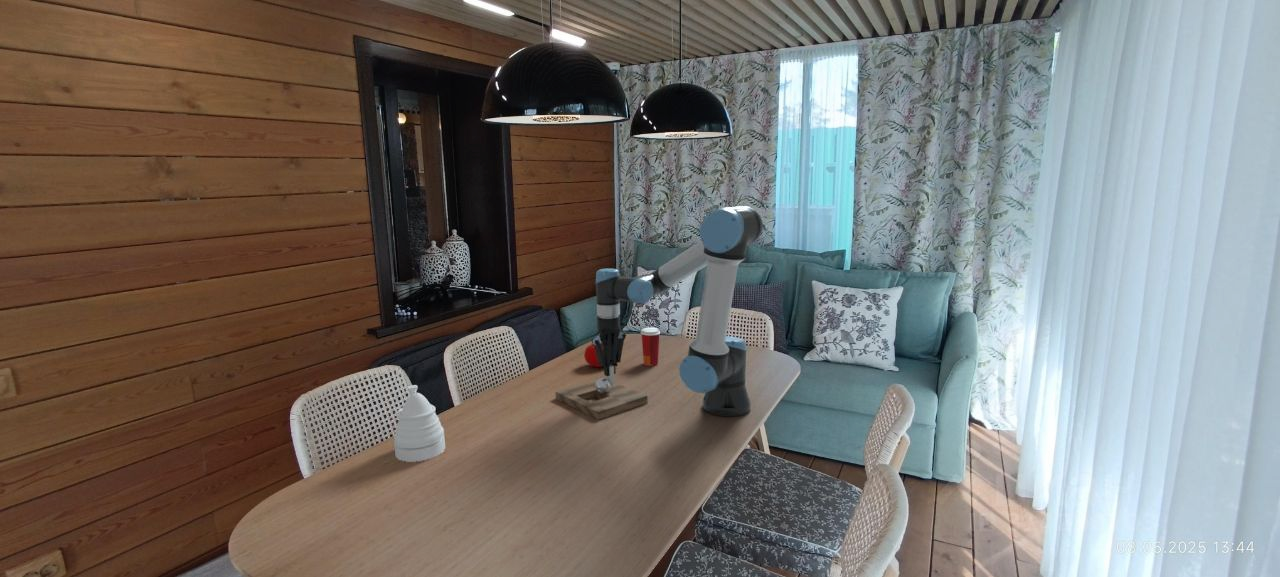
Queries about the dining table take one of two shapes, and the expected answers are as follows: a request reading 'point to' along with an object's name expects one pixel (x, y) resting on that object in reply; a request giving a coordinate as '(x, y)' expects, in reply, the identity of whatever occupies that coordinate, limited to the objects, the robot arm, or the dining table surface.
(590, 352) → the tomato
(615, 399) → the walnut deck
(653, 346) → the paper cup
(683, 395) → the dining table surface
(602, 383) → the steel ball
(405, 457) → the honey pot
